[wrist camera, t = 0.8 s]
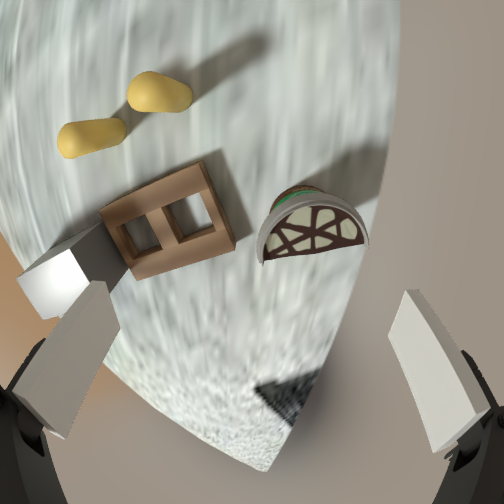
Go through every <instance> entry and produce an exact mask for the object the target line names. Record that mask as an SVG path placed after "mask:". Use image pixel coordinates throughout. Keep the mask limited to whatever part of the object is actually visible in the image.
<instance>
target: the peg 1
mask: <svg viewBox="0 0 504 504" xmlns="http://www.w3.org/2000/svg"><path fill="white" fill-rule="evenodd" d="M125 135H126V126H125V124H124V122H123V121H122V120H121V119H119V118H105V119H95V120H86V121H78V122H71V123H67V124H65V125H64V126H63V127H62V128H61V130H60V132H59V134H58V139H57V145H58V149H59V152H60V153H61V155H62V156H63V157H65V158H67V159H73V158H76V157H79V156H82V155H85V154H88V153H92V152H95V151H98V150H102V149H105V148H109V147H112V146H116V145H118V144H120V143H121V142H122V141H123V140H124V138H125Z"/></svg>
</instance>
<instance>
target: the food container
mask: <svg viewBox="0 0 504 504" xmlns="http://www.w3.org/2000/svg"><path fill="white" fill-rule="evenodd" d="M360 244H364V245H365V246H366V247H367V248H369V239H368V234H367V231H366V228H365V225H364V222H363V220H362V218H361V216H360V215H359V214H358V212H357V211H356V210H355V209H354V208H353V207H352V206H351V205H350V204H349V203H347V202H346V201H344V200H343V199H341V198H339V197H336V196H334V195H330V194H326V193H325V192H323V191H322V190H319V189H317V188H315V187H313V186H305V185H302V186H296V187H292V188H290V189H287V190H286V191H284V192H283V193H282V194H280V195H279V196H278V197H277V199H276V200H275V201H274V203H273V205H272V207H271V209H270V213H269V216H268V217H267V218H266V220H265V221H264V223H263V225H262V227H261V229H260V232H259V234H258V239H257V258H258V260H259V263H262V266H263V264H264V261H265V260H272V259H276V258H281V257H288V256H296V255H308V254H316V253H321V252H325V251H329V250H333V249H337V248H342V247H348V246H354V245H360Z"/></svg>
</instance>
